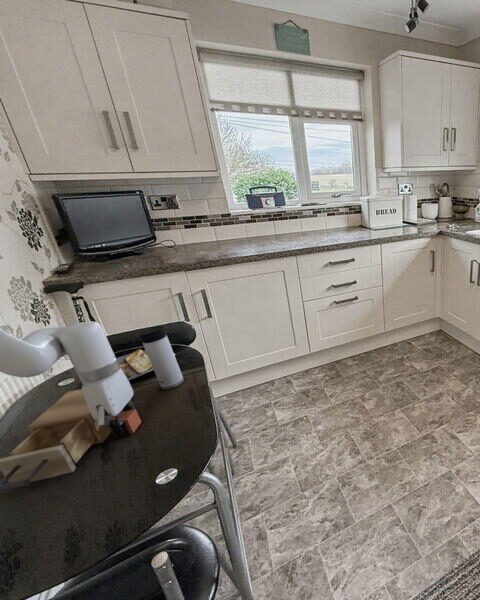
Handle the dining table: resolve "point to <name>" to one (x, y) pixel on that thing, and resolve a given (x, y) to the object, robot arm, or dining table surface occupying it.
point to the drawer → (46, 453)
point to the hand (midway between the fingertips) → (127, 428)
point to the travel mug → (162, 357)
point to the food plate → (135, 364)
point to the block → (130, 419)
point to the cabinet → (71, 415)
